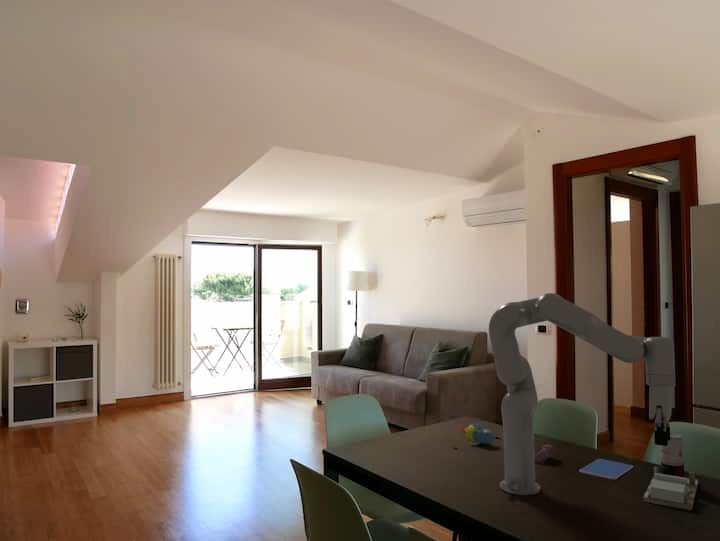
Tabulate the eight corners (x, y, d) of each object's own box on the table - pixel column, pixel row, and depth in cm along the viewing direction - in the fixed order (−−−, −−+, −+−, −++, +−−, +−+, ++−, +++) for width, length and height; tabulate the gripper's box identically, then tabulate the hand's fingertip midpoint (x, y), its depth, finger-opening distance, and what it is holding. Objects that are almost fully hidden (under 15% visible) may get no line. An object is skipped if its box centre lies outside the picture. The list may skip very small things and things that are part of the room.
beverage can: (676, 478, 179) (675, 432, 179) (689, 485, 172) (687, 437, 173) (657, 478, 178) (655, 433, 179) (669, 485, 172) (667, 438, 173)
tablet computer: (598, 461, 204) (598, 457, 204) (634, 468, 195) (634, 464, 195) (578, 473, 190) (578, 469, 190) (615, 482, 181) (615, 478, 181)
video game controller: (542, 468, 200) (550, 452, 198) (530, 460, 202) (538, 444, 201) (550, 461, 208) (558, 446, 206) (539, 454, 210) (547, 439, 209)
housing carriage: (683, 503, 157) (682, 487, 157) (651, 497, 162) (650, 482, 162) (686, 493, 165) (685, 477, 165) (655, 487, 170) (654, 472, 170)
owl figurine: (486, 416, 243) (513, 423, 230) (486, 435, 242) (513, 443, 230) (441, 425, 226) (467, 433, 214) (441, 446, 226) (467, 455, 214)
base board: (691, 510, 155) (691, 493, 156) (643, 501, 163) (642, 485, 163) (698, 483, 177) (697, 468, 178) (655, 476, 185) (654, 462, 185)
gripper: (650, 375, 166) (652, 434, 165) (641, 382, 152) (643, 447, 151) (678, 377, 162) (680, 437, 161) (672, 385, 148) (674, 451, 147)
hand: (662, 441), depth 156 cm, fingers open, 6 cm apart
